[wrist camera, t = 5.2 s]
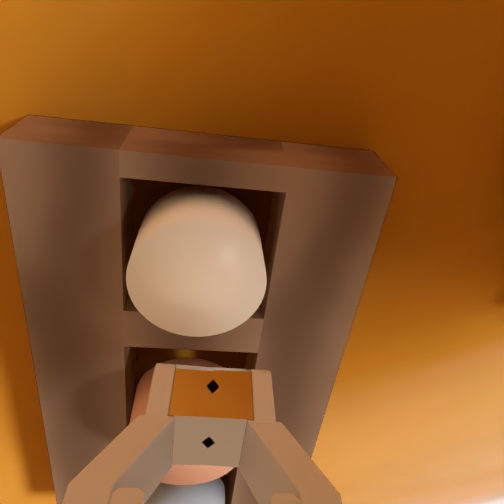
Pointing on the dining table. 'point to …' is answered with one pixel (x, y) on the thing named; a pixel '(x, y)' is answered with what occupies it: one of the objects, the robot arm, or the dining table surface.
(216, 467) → the key terracotta
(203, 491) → the key slate
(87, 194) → the wooden tray
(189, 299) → the key ivory
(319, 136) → the dining table surface
